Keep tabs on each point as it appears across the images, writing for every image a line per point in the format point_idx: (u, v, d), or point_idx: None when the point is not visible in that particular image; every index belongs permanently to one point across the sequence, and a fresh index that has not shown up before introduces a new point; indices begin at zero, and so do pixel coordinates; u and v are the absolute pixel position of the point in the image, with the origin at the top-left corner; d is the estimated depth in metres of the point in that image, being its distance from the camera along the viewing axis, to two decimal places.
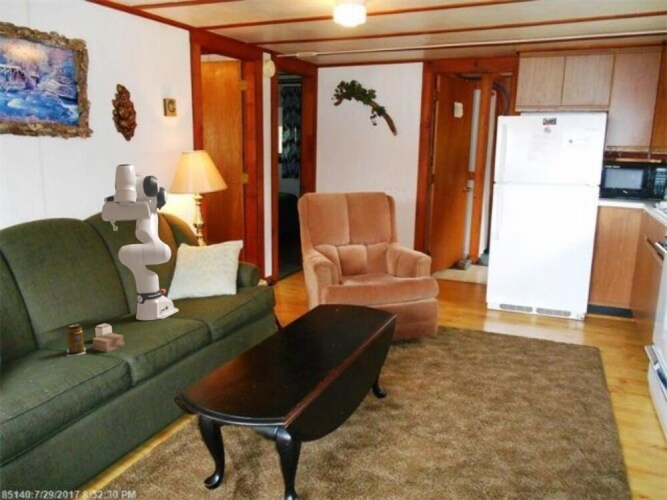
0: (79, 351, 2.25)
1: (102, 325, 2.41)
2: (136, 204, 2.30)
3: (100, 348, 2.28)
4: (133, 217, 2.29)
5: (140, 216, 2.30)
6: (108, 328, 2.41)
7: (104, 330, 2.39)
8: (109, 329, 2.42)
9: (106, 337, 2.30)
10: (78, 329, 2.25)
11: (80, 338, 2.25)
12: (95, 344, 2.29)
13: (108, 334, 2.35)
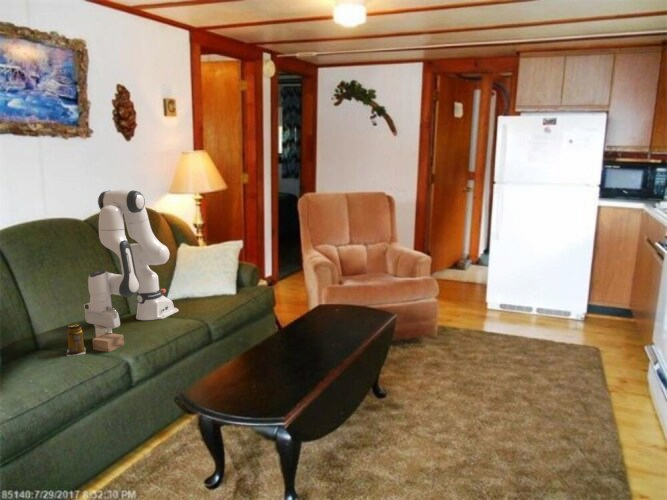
0: (79, 351, 2.25)
1: None
2: (105, 314, 2.36)
3: (101, 348, 2.28)
4: (104, 325, 2.38)
5: (108, 326, 2.36)
6: None
7: (104, 330, 2.39)
8: None
9: (106, 337, 2.30)
10: (78, 329, 2.25)
11: (80, 338, 2.25)
12: (95, 344, 2.29)
13: (107, 334, 2.35)
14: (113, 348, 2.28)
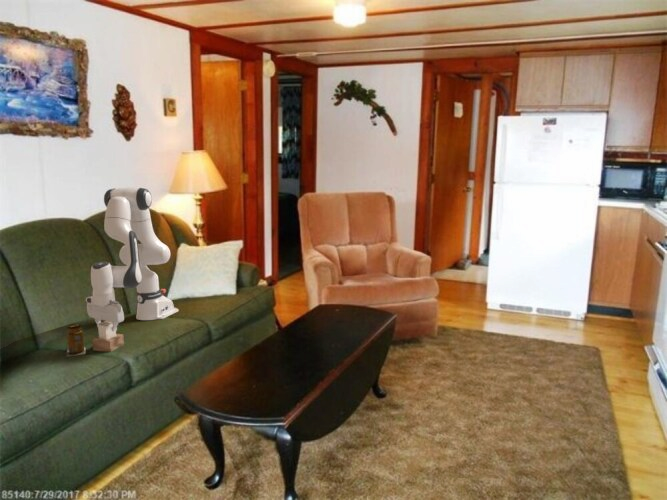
0: (79, 351, 2.25)
1: (105, 322, 2.29)
2: (108, 308, 2.25)
3: (102, 348, 2.27)
4: (107, 320, 2.26)
5: (111, 320, 2.25)
6: (111, 325, 2.29)
7: (107, 328, 2.28)
8: None
9: None
10: (78, 329, 2.25)
11: (80, 338, 2.25)
12: (95, 345, 2.28)
13: None
14: (114, 348, 2.29)
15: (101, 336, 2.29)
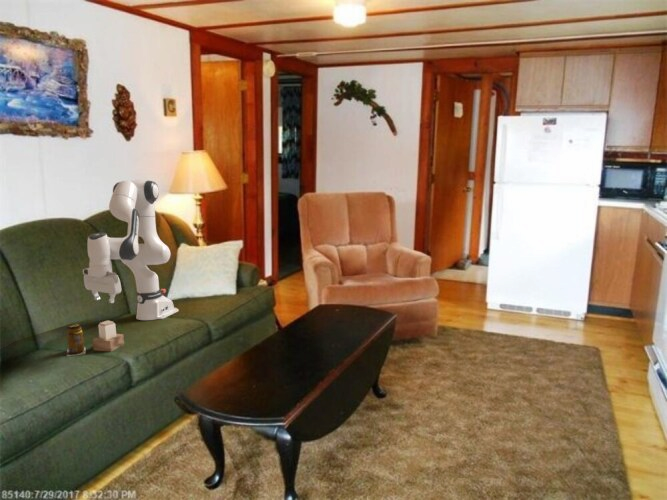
0: (79, 351, 2.25)
1: (105, 322, 2.29)
2: (105, 279, 2.22)
3: (102, 348, 2.27)
4: (104, 292, 2.24)
5: (109, 292, 2.23)
6: (112, 326, 2.29)
7: (107, 328, 2.28)
8: (113, 327, 2.30)
9: None
10: (78, 329, 2.25)
11: (80, 338, 2.25)
12: (95, 345, 2.28)
13: None
14: (115, 348, 2.29)
15: (101, 336, 2.29)
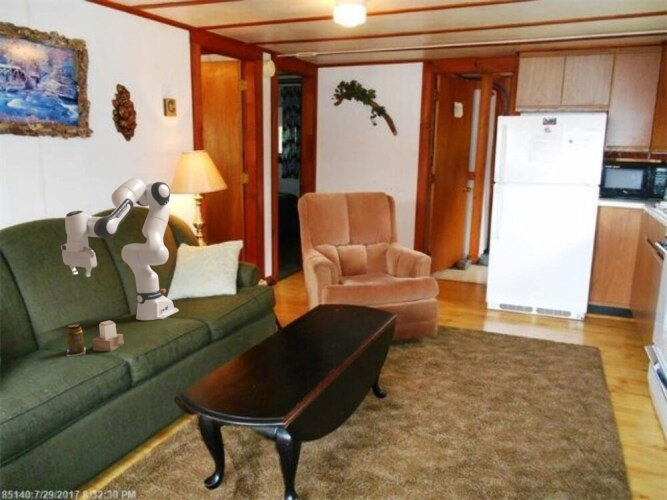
0: (79, 351, 2.25)
1: (106, 322, 2.29)
2: (81, 254, 2.37)
3: (102, 348, 2.28)
4: (81, 266, 2.39)
5: (85, 266, 2.37)
6: (112, 326, 2.29)
7: (107, 328, 2.28)
8: (113, 327, 2.30)
9: None
10: (78, 329, 2.25)
11: (80, 338, 2.25)
12: (95, 344, 2.28)
13: None
14: (114, 347, 2.29)
15: (102, 336, 2.30)
